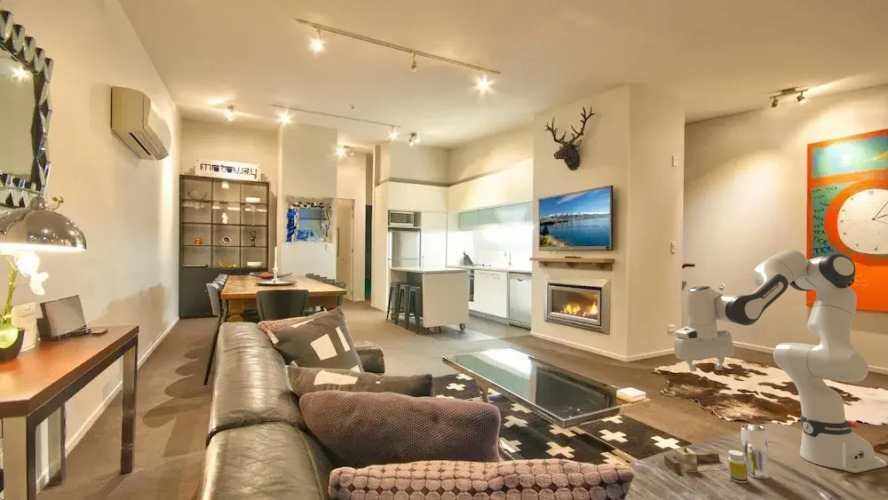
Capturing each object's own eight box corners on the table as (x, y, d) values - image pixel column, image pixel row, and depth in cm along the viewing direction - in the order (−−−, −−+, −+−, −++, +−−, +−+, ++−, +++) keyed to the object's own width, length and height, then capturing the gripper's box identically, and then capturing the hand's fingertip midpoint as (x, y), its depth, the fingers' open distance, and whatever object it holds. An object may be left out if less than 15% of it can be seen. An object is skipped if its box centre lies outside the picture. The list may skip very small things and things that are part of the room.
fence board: (715, 458, 143) (714, 449, 143) (732, 468, 135) (731, 459, 135) (662, 462, 142) (661, 453, 143) (675, 473, 134) (675, 463, 135)
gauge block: (689, 464, 140) (687, 444, 140) (697, 470, 136) (695, 450, 136) (676, 464, 140) (674, 445, 140) (684, 471, 135) (682, 450, 136)
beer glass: (742, 475, 131) (738, 428, 132) (745, 467, 136) (741, 422, 137) (770, 482, 126) (765, 433, 127) (772, 473, 131) (767, 426, 132)
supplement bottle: (751, 483, 126) (748, 456, 126) (734, 483, 127) (731, 455, 127) (742, 476, 130) (740, 449, 131) (726, 475, 131) (724, 449, 132)
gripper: (724, 328, 149) (727, 366, 148) (670, 331, 148) (673, 369, 147) (737, 331, 142) (740, 370, 142) (681, 334, 142) (684, 374, 141)
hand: (705, 370), depth 144 cm, fingers open, 8 cm apart
